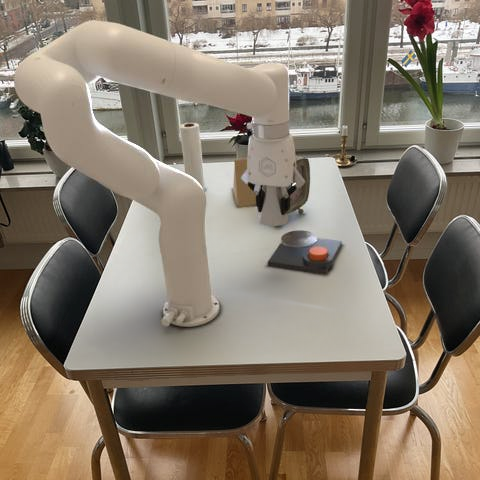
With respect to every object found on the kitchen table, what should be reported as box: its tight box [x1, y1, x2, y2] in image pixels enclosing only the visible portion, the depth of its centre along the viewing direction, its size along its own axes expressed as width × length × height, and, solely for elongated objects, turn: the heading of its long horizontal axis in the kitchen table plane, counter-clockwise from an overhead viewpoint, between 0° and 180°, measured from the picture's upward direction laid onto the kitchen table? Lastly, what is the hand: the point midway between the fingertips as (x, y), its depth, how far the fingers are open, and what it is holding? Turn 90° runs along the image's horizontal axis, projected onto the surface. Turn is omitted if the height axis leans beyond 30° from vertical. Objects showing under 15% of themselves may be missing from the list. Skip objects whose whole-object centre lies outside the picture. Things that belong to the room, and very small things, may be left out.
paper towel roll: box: [179, 122, 206, 191], centre depth 172 cm, size 7×6×21 cm
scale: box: [267, 237, 343, 276], centre depth 137 cm, size 16×16×3 cm
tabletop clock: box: [263, 132, 311, 228], centre depth 150 cm, size 14×9×25 cm, turn 137°
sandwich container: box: [232, 157, 256, 208], centre depth 168 cm, size 9×15×15 cm, turn 6°
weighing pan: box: [280, 229, 319, 248], centre depth 139 cm, size 9×9×1 cm
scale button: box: [309, 247, 328, 261], centre depth 131 cm, size 4×4×2 cm
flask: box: [257, 186, 290, 227], centre depth 120 cm, size 7×7×10 cm
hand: (273, 210), depth 121 cm, fingers closed on flask, 4 cm apart
